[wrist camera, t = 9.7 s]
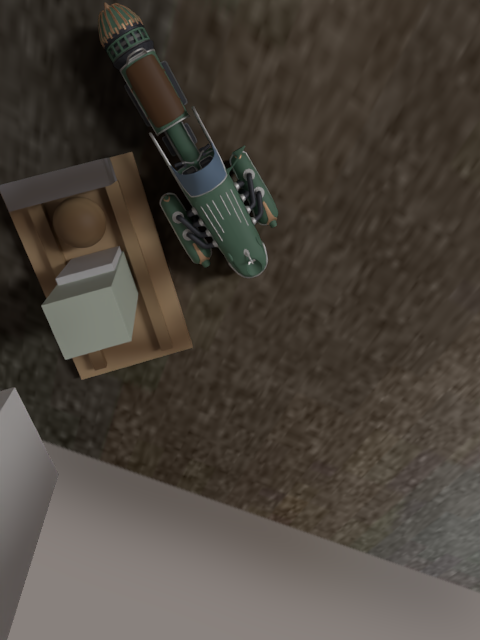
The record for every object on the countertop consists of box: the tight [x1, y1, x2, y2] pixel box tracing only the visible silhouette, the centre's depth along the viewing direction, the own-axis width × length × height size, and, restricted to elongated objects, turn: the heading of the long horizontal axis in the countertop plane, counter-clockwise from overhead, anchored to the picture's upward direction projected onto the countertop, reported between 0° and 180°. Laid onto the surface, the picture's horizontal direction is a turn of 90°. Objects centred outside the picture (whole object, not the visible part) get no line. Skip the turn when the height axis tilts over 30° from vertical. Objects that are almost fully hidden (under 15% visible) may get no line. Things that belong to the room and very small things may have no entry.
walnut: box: [53, 197, 106, 248], centre depth 39 cm, size 4×4×4 cm
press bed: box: [0, 152, 193, 380], centre depth 41 cm, size 20×12×7 cm, turn 14°
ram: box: [41, 246, 138, 360], centre depth 38 cm, size 5×5×12 cm
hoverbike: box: [98, 3, 278, 278], centre depth 38 cm, size 10×25×8 cm, turn 29°
